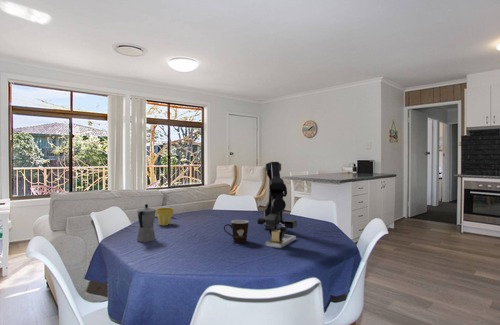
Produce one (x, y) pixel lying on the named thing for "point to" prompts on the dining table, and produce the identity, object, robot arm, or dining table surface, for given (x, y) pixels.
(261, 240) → the dining table surface
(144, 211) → the coffeepot
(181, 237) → the dining table surface
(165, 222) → the plant pot
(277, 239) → the golden block
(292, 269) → the dining table surface
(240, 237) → the coffee mug
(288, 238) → the rail
